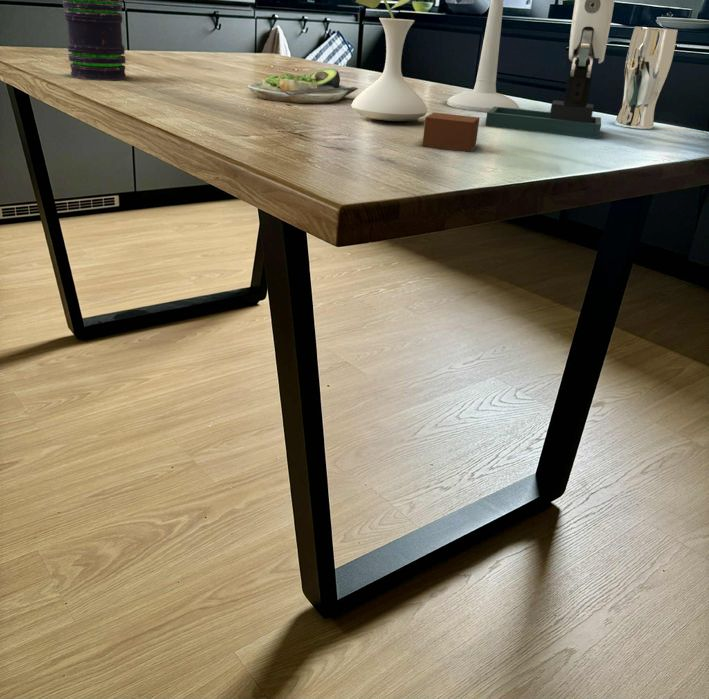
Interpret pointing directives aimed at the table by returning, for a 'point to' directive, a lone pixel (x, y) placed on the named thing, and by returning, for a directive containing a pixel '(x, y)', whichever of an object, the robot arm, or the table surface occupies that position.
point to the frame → (541, 122)
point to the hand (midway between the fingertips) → (575, 103)
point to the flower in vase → (390, 77)
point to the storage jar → (95, 39)
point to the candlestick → (486, 70)
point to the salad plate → (302, 87)
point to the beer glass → (645, 75)
